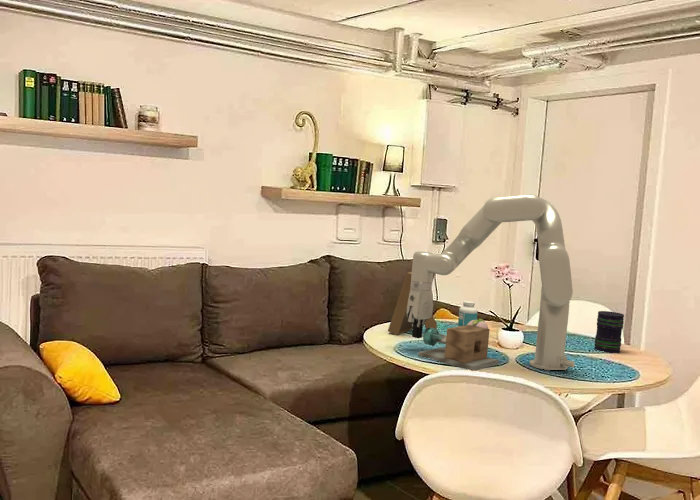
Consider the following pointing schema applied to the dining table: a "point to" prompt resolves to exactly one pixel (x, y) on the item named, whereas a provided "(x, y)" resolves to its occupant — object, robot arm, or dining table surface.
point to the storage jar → (609, 331)
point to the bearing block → (464, 348)
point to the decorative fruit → (478, 323)
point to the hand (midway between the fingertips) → (416, 337)
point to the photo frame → (399, 317)
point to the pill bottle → (467, 313)
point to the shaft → (433, 337)
